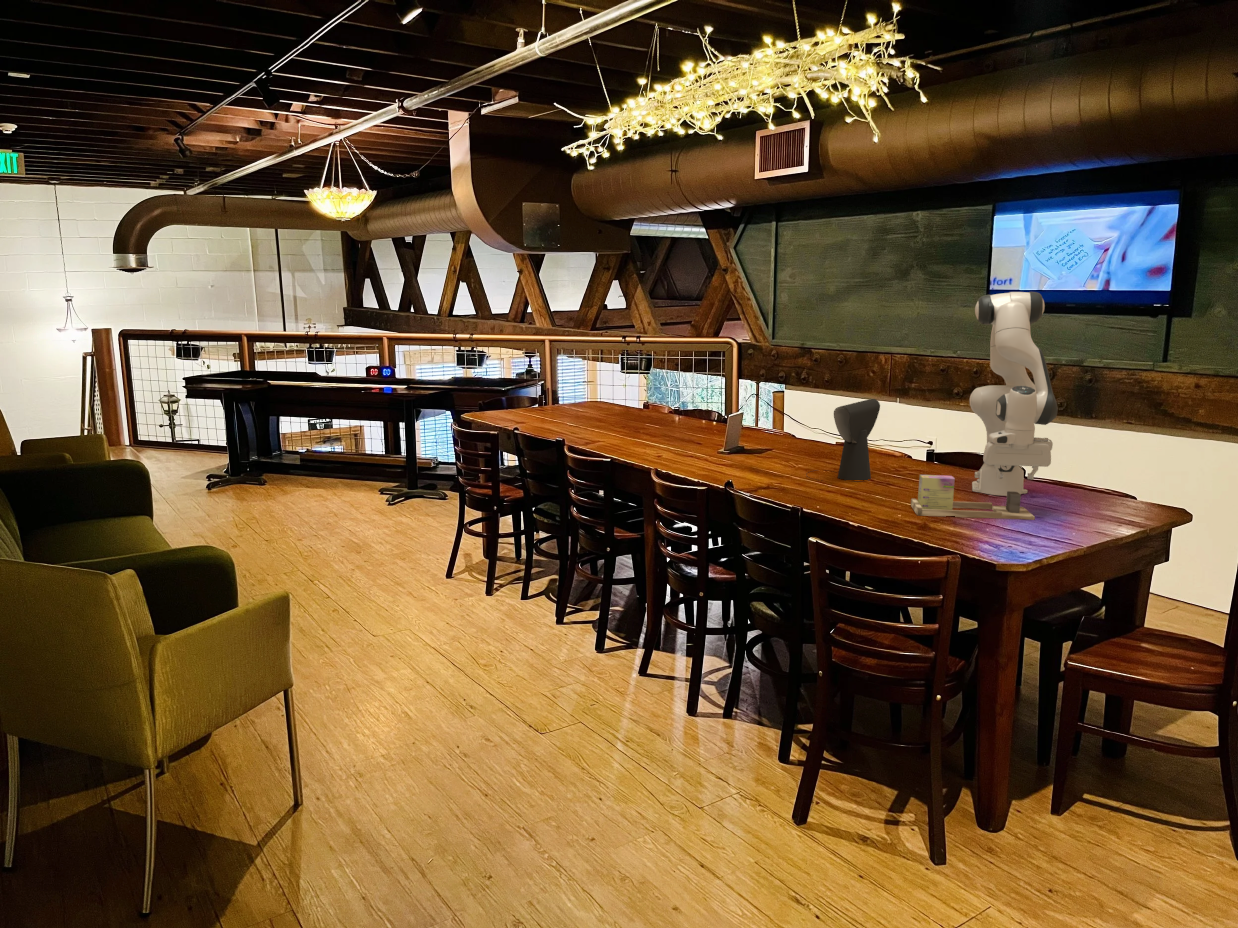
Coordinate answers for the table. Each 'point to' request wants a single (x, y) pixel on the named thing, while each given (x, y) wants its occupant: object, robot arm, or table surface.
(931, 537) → the table surface
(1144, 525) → the table surface
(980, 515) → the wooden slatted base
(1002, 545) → the table surface
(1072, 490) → the table surface
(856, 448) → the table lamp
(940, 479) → the box
